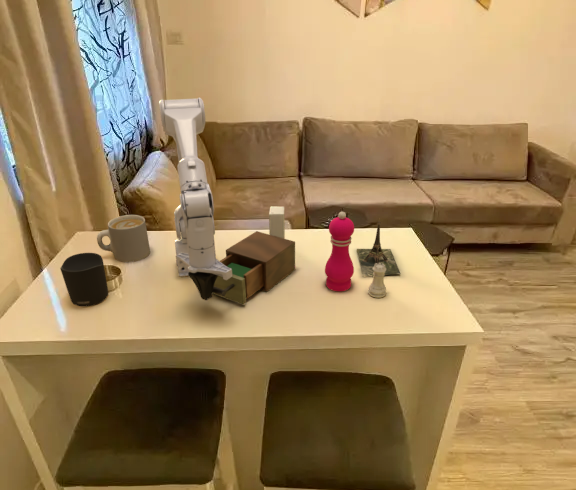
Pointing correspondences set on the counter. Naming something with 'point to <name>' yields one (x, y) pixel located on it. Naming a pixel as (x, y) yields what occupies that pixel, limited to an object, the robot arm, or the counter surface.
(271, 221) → the cosmetic box
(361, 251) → the eiffel tower figurine
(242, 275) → the sponge
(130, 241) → the coffee mug
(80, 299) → the black speaker
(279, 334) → the counter surface
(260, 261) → the cabinet
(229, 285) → the drawer
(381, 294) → the rook chess piece
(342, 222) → the pepper mill
